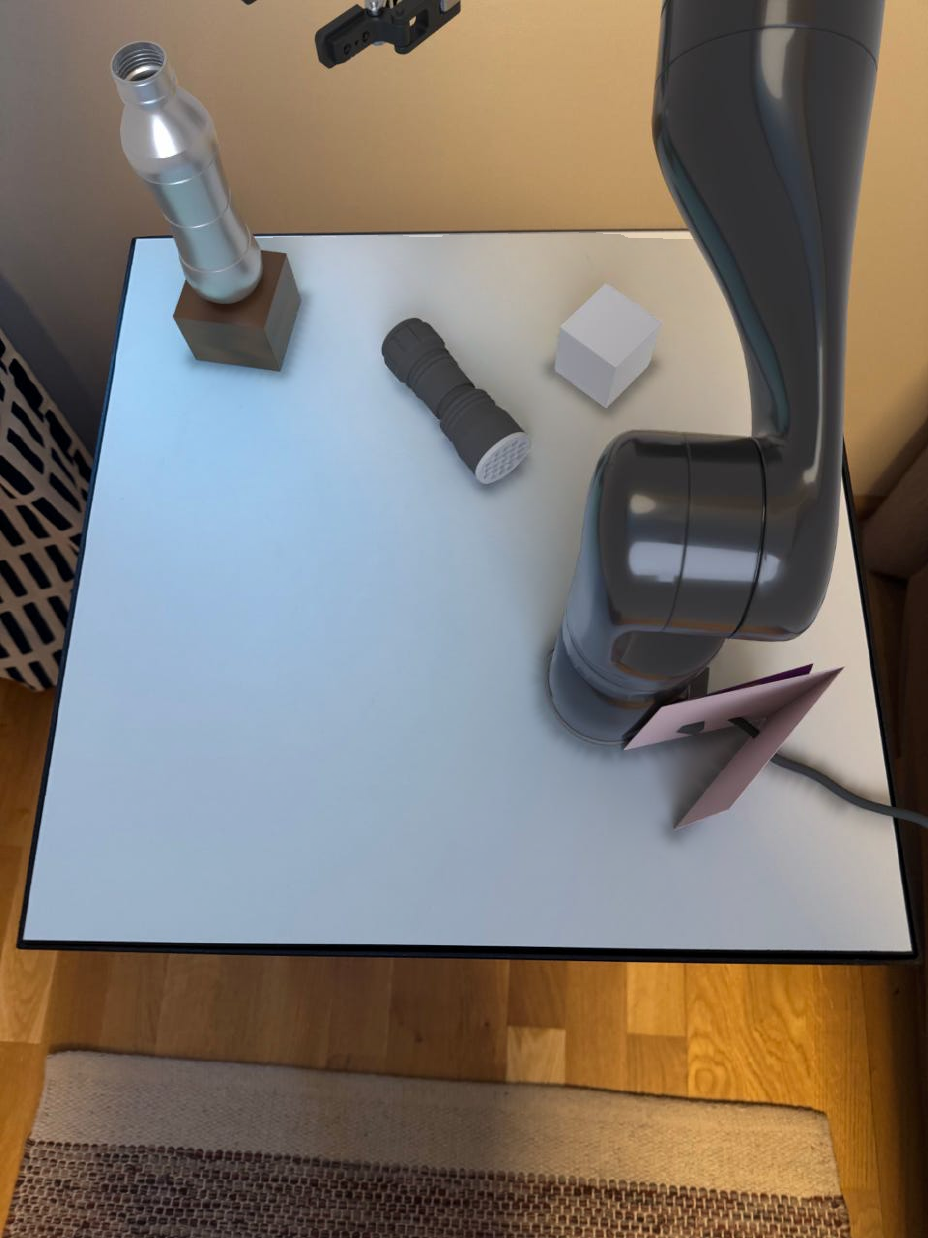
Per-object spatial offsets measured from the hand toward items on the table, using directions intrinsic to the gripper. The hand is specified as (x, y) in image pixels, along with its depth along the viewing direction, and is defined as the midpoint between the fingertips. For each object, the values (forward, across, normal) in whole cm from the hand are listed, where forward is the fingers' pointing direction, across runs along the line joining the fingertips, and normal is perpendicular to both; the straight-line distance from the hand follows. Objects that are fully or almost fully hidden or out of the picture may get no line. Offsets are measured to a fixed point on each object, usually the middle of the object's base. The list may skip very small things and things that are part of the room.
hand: (278, 19), depth 55 cm
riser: (+9, -2, +25) cm, 27 cm away
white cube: (-11, +23, +25) cm, 36 cm away
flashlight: (+2, +18, +25) cm, 31 cm away
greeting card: (+10, +53, +26) cm, 60 cm away
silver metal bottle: (+9, -2, +19) cm, 21 cm away
